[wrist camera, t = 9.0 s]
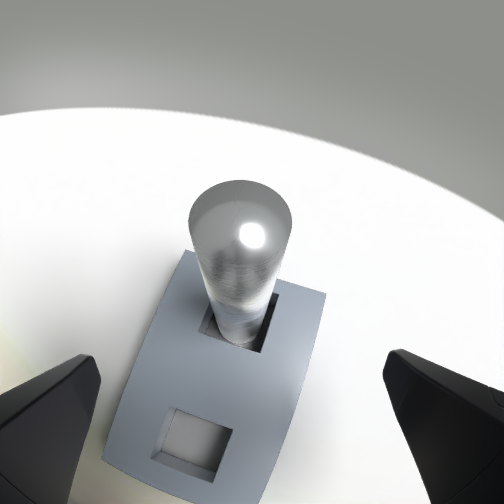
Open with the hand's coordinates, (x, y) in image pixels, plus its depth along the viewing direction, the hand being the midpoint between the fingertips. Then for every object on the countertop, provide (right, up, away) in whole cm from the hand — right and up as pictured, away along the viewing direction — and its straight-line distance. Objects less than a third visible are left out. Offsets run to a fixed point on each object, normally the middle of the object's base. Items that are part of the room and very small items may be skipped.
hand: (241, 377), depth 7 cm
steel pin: (-1, -2, +12) cm, 12 cm away
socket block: (-2, -6, +9) cm, 11 cm away
